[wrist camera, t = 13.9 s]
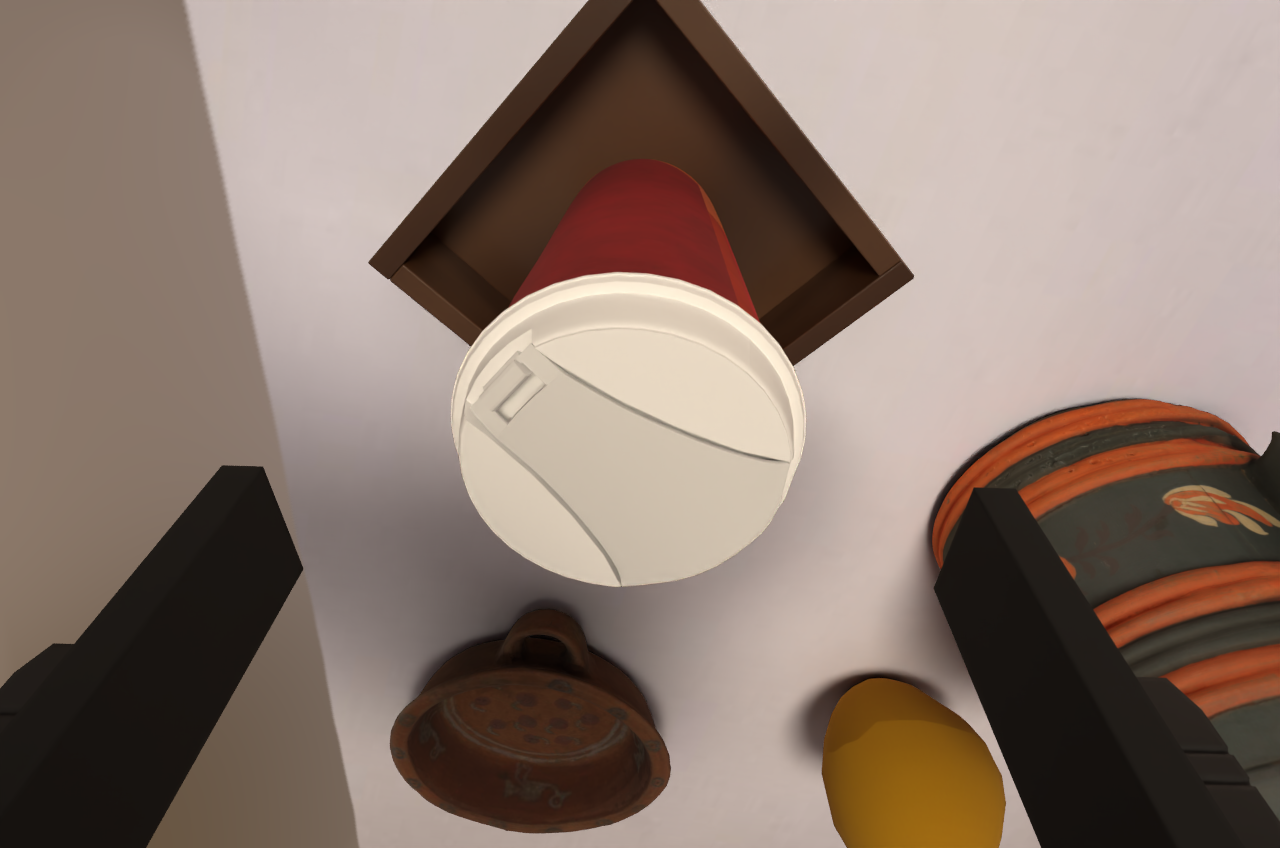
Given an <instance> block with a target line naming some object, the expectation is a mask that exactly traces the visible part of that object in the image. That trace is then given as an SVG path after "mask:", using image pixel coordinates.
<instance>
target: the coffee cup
mask: <svg viewBox="0 0 1280 848" xmlns="http://www.w3.org/2000/svg"><path fill="white" fill-rule="evenodd" d="M451 426H452V432H453V439H454V444H455V447H456V450H457V453H458V455H459V462H460V468H461V475H462V477H463V480H464V483H465V486H466V489H467V492H468V495H469V496H470V498H471V500H472V502H473V504H474V505H475V507H476V509H477V511H478V513H479V514H480V516H481V517H482V518H483V520H484V521H485V522H486V523H487V525H488V526H489V527H490V528H491V530H492V531H493V532H494V533H495V534H496V535H497V536H498V537H499V538H500V539H501V540H503V541H504V542H505V543H506V544H507V545H508V546H509V547H510V548H512V549H513V550H515V551H516V552H518V553H519V554H520V555H522V556H523V557H525V558H526V559H528V560H530V561H532V562H533V563H535V564H537V565H539V566H541V567H543V568H545V569H547V570H549V571H552V572H555V573H557V574H560V575H562V576H565V577H568V578H571V579H575V580H579V581H583V582H587V583H592V584H598V585H605V586H613V587H621V585H622V586H623V587H626V586H638V585H649V584H657V583H664V582H671V581H677V580H681V579H685V578H688V577H692V576H695V575H698V574H701V573H703V572H705V571H707V570H710V569H712V568H714V567H716V566H718V565H720V564H721V563H723V562H724V561H726V560H728V559H729V558H731V557H733V556H734V555H736V554H737V553H738V552H739V551H741V550H742V549H743V548H744V547H746V546H747V545H748V544H750V543H751V542H752V541H754V540H755V539H756V538H757V537H758V536H759V535H760V534H761V533H762V532H763V531H764V530H765V529H766V528H767V526H768V525H769V523H770V522H771V520H772V518H773V517H774V515H775V513H776V511H777V509H778V507H779V506H780V505H781V504H782V503H783V502H784V500H785V497H786V494H787V492H788V489H789V486H790V484H791V481H792V478H793V476H794V474H795V471H796V469H797V466H798V464H799V462H800V459H801V456H802V451H803V446H804V442H805V437H806V410H805V404H804V399H803V393H802V389H801V386H800V383H799V381H798V378H797V376H796V373H795V371H794V368H793V365H792V364H791V362H790V361H789V359H788V357H787V356H786V354H785V353H784V351H783V349H782V348H781V346H780V345H779V343H778V342H777V341H776V340H775V339H774V338H773V336H772V335H771V334H770V333H769V332H768V331H767V330H766V329H765V328H764V327H763V325H762V324H761V323H760V321H759V319H758V316H757V313H756V311H755V308H754V306H753V303H752V300H751V298H750V295H749V293H748V290H747V287H746V285H745V282H744V280H743V277H742V274H741V272H740V269H739V267H738V264H737V262H736V259H735V257H734V254H733V251H732V249H731V246H730V244H729V241H728V239H727V236H726V234H725V232H724V229H723V227H722V224H721V222H720V219H719V217H718V215H717V213H716V211H715V209H714V206H713V204H712V203H711V201H710V199H709V197H708V196H707V194H706V193H705V191H704V190H703V189H702V187H701V186H700V185H699V184H698V183H697V182H696V181H695V180H694V179H693V178H692V177H691V176H689V175H688V174H687V173H686V172H684V171H682V170H681V169H679V168H677V167H675V166H673V165H671V164H668V163H665V162H662V161H658V160H652V159H632V160H627V161H623V162H619V163H616V164H614V165H611V166H609V167H607V168H606V169H604V170H602V171H601V172H599V173H598V174H596V175H595V176H594V177H592V178H591V179H590V180H589V181H588V182H587V183H586V184H585V186H584V187H583V188H582V189H581V190H580V192H579V193H578V194H577V196H576V197H575V199H574V200H573V202H572V203H571V205H570V206H569V208H568V210H567V211H566V213H565V215H564V216H563V218H562V220H561V221H560V223H559V225H558V226H557V228H556V230H555V231H554V233H553V235H552V237H551V238H550V240H549V242H548V244H547V245H546V247H545V249H544V250H543V252H542V254H541V256H540V257H539V259H538V260H537V262H536V263H535V265H534V267H533V268H532V270H531V271H530V273H529V274H528V276H527V277H526V279H525V281H524V282H523V284H522V285H521V287H520V288H519V290H518V292H517V293H516V295H515V296H514V298H513V300H512V302H511V304H510V305H509V307H508V308H507V309H506V310H504V311H503V312H502V313H501V314H500V315H499V316H498V317H496V318H495V319H494V320H493V321H492V322H491V323H490V324H489V325H488V326H487V327H486V328H485V329H484V330H483V331H482V332H481V334H480V335H479V337H478V338H477V339H476V341H475V342H474V344H473V345H472V346H471V348H470V349H469V350H468V352H467V354H466V357H465V359H464V361H463V363H462V365H461V367H460V369H459V372H458V374H457V377H456V381H455V385H454V390H453V394H452V400H451Z"/></svg>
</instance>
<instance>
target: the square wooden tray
mask: <svg viewBox="0 0 1280 848" xmlns="http://www.w3.org/2000/svg"><path fill="white" fill-rule="evenodd" d="M632 159H652V160H658V161H662V162H665V163H668V164H671V165H673V166H675V167H677V168H679V169H681V170H682V171H684V172H686V173H687V174H688V175H689V176H691V177H692V178H693V179H694V180H695V181H696V182H697V183H698V184H699V185H700V186H701V187H702V189H703V190H704V191H705V193H706V194H707V196H708V197H709V199H710V201H711V203H712V204H713V206H714V209H715V211H716V213H717V215H718V217H719V219H720V222H721V224H722V227H723V229H724V232H725V234H726V236H727V239H728V241H729V244H730V246H731V249H732V251H733V254H734V257H735V259H736V262H737V264H738V267H739V269H740V272H741V274H742V277H743V280H744V282H745V285H746V287H747V290H748V293H749V295H750V298H751V300H752V303H753V306H754V308H755V311H756V313H757V316H758V319H759V321H760V323H761V324H762V325H763V327H764V328H765V329H766V330H767V331H768V332H769V333H770V334H771V335H772V336H773V338H774V339H775V340H776V341H777V342H778V343H779V345H780V346H781V348H782V349H783V351H784V353H785V354H786V356H787V357H788V359H789V361H790V362H791V364H792V365H793V366H794V365H796V364H797V363H798V362H800V361H801V360H802V359H804V358H805V357H806V356H808V355H809V354H811V353H812V352H813V351H815V350H816V349H817V348H819V347H820V346H822V345H823V344H824V343H826V342H827V341H828V340H830V339H831V338H832V337H834V336H835V335H837V334H838V333H839V332H841V331H842V330H843V329H845V328H846V327H848V326H849V325H850V324H852V323H853V322H854V321H856V320H857V319H859V318H860V317H861V316H863V315H864V314H865V313H867V312H868V311H869V310H871V309H872V308H874V307H875V306H876V305H878V304H879V303H880V302H882V301H883V300H885V299H886V298H887V297H889V296H890V295H891V294H893V293H894V292H896V291H897V290H898V289H900V288H901V287H902V286H904V285H905V284H906V283H908V282H909V281H911V280H912V279H913V278H914V275H913V274H912V272H911V271H910V270H909V268H908V267H907V266H906V264H905V263H904V262H903V260H902V259H901V258H900V256H899V255H898V254H897V252H896V251H895V250H894V248H893V247H892V246H891V244H890V243H889V242H888V240H887V239H886V238H885V237H884V235H883V234H882V233H881V231H880V230H879V229H878V228H877V226H876V225H875V224H874V222H873V221H872V220H871V219H870V217H869V216H868V215H867V213H866V212H865V211H864V210H863V208H862V207H861V206H860V204H859V203H858V202H857V201H856V199H855V198H854V197H853V196H852V194H851V193H850V192H849V190H848V189H847V188H846V187H845V185H844V184H843V183H842V181H841V180H840V179H839V178H838V176H837V175H836V174H835V172H834V171H833V170H832V169H831V167H830V166H829V165H828V163H827V162H826V161H825V160H824V158H823V157H822V156H821V155H820V153H819V152H818V151H817V149H816V148H815V147H814V146H813V144H812V143H811V142H810V140H809V139H808V138H807V137H806V135H805V134H804V133H803V131H802V130H801V129H800V128H799V126H798V125H797V124H796V122H795V121H794V120H793V119H792V117H791V116H790V115H789V114H788V112H787V111H786V110H785V108H784V107H783V106H782V105H781V103H780V102H779V101H778V99H777V98H776V97H775V96H774V94H773V93H772V92H771V90H770V89H769V88H768V87H767V85H766V84H765V83H764V81H763V80H762V79H761V78H760V76H759V75H758V74H757V72H756V71H755V70H754V69H753V67H752V66H751V65H750V64H749V62H748V61H747V60H746V58H745V57H744V56H743V55H742V53H741V52H740V51H739V49H738V48H737V47H736V46H735V44H734V43H733V42H732V40H731V39H730V38H729V37H728V35H727V34H726V33H725V31H724V30H723V29H722V28H721V26H720V25H719V24H718V23H717V21H716V20H715V19H714V17H713V16H712V15H711V14H710V12H709V11H708V10H707V8H706V7H705V6H704V5H703V3H702V2H701V1H700V0H588V1H587V3H586V4H585V5H584V6H583V7H582V9H581V10H580V11H579V12H578V13H577V15H576V16H575V17H574V18H573V19H572V20H571V22H570V23H569V24H568V25H567V26H566V28H565V29H564V30H563V31H562V32H561V34H560V35H559V36H558V37H557V38H556V40H555V41H554V42H553V43H552V44H551V45H550V47H549V48H548V49H547V50H546V51H545V53H544V54H543V55H542V56H541V57H540V59H539V60H538V61H537V62H536V63H535V64H534V66H533V67H532V68H531V69H530V70H529V72H528V73H527V74H526V75H525V76H524V78H523V79H522V80H521V81H520V82H519V84H518V85H517V86H516V87H515V88H514V89H513V91H512V92H511V93H510V94H509V95H508V97H507V98H506V99H505V100H504V101H503V103H502V104H501V105H500V106H499V107H498V108H497V110H496V111H495V112H494V113H493V114H492V116H491V117H490V118H489V119H488V120H487V122H486V123H485V124H484V125H483V126H482V128H481V129H480V130H479V131H478V132H477V133H476V135H475V136H474V137H473V138H472V139H471V141H470V142H469V143H468V144H467V145H466V147H465V148H464V149H463V150H462V151H461V153H460V154H459V155H458V156H457V157H456V158H455V160H454V161H453V162H452V163H451V164H450V166H449V167H448V168H447V169H446V170H445V172H444V173H443V174H442V175H441V176H440V177H439V179H438V180H437V181H436V182H435V183H434V185H433V186H432V187H431V188H430V189H429V191H428V192H427V193H426V194H425V195H424V197H423V198H422V199H421V200H420V201H419V202H418V204H417V205H416V206H415V207H414V208H413V210H412V211H411V212H410V213H409V214H408V216H407V217H406V218H405V219H404V220H403V221H402V223H401V224H400V225H399V226H398V227H397V229H396V230H395V231H394V232H393V233H392V235H391V236H390V237H389V238H388V239H387V241H386V242H385V243H384V244H383V245H382V246H381V248H380V249H379V250H378V251H377V252H376V254H375V255H374V256H373V257H372V258H371V260H370V261H369V262H368V263H369V264H370V265H371V266H372V267H373V268H375V269H376V270H377V271H378V272H380V273H381V274H382V275H383V276H385V277H386V278H387V279H390V281H391V282H392V283H394V284H395V285H396V286H397V287H399V288H400V289H401V290H402V291H404V292H405V293H406V294H407V295H408V296H410V297H411V298H412V299H413V300H415V301H416V302H417V303H418V304H420V305H421V306H422V307H423V308H424V309H426V310H427V311H428V312H429V313H431V314H432V315H433V316H434V317H436V318H437V319H438V320H439V321H440V322H442V323H443V324H444V325H445V326H447V327H448V328H449V329H450V330H452V331H453V332H454V333H455V334H457V335H458V336H459V337H460V338H461V339H463V340H464V341H465V342H466V343H468V344H469V345H470V346H472V345H473V344H474V342H475V341H476V339H477V338H478V337H479V335H480V334H481V332H482V331H483V330H484V329H485V328H486V327H487V326H488V325H489V324H490V323H491V322H492V321H493V320H494V319H495V318H496V317H498V316H499V315H500V314H501V313H502V312H503V311H504V310H506V309H507V308H508V307H509V305H510V304H511V302H512V300H513V298H514V296H515V295H516V293H517V292H518V290H519V288H520V287H521V285H522V284H523V282H524V281H525V279H526V277H527V276H528V274H529V273H530V271H531V270H532V268H533V267H534V265H535V263H536V262H537V260H538V259H539V257H540V256H541V254H542V252H543V250H544V249H545V247H546V245H547V244H548V242H549V240H550V238H551V237H552V235H553V233H554V231H555V230H556V228H557V226H558V225H559V223H560V221H561V220H562V218H563V216H564V215H565V213H566V211H567V210H568V208H569V206H570V205H571V203H572V202H573V200H574V199H575V197H576V196H577V194H578V193H579V192H580V190H581V189H582V188H583V187H584V186H585V184H586V183H587V182H588V181H589V180H590V179H591V178H592V177H594V176H595V175H596V174H598V173H599V172H601V171H602V170H604V169H606V168H607V167H609V166H611V165H614V164H616V163H619V162H623V161H627V160H632Z"/></svg>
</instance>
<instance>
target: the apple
mask: <svg viewBox="0 0 1280 848" xmlns="http://www.w3.org/2000/svg"><path fill="white" fill-rule="evenodd" d="M822 777H823V781H824V785H825V790H826V794H827V798H828V802H829V807H830V811H831V815H832V819H833V824H834V826H835V828H836V830H837V832H838V833H839V835H840V837H841V838H842V840H843V842H844V843H845V845H846V847H847V848H999V845H1000V841H1001V837H1002V830H1003V822H1004V814H1005V806H1006V801H1005V794H1004V787H1003V781H1002V775H1001V773H1000V771H999V769H998V767H997V765H996V764H995V762H994V760H993V758H992V756H991V753H990V751H989V749H988V747H987V745H986V743H985V742H984V741H983V740H982V739H981V737H980V736H979V735H978V734H977V733H976V732H975V731H974V730H973V728H972V727H971V726H970V725H969V724H968V723H967V722H966V721H965V720H964V719H962V718H961V717H960V716H959V715H957V714H956V713H954V712H953V711H951V710H950V709H948V708H947V707H945V706H944V705H942V704H941V703H939V702H938V701H936V700H934V699H933V698H931V697H930V696H928V695H927V694H925V693H924V692H922V691H921V690H919V689H917V688H915V687H914V686H912V685H910V684H907V683H903V682H900V681H896V680H892V679H887V678H874V679H867V680H865V681H863V682H861V683H859V684H857V685H855V686H853V687H852V688H851V689H850V690H849V691H847V692H846V693H845V694H844V695H843V696H842V697H841V698H840V700H839V701H838V703H837V705H836V707H835V709H834V710H833V712H832V714H831V718H830V721H829V724H828V728H827V731H826V734H825V738H824V747H823V762H822Z"/></svg>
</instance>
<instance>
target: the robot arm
mask: <svg viewBox="0 0 1280 848" xmlns="http://www.w3.org/2000/svg"><path fill="white" fill-rule="evenodd" d="M302 571H303V566H302V564H301V561H300V559H299V556H298V554H297V551H296V549H295V546H294V544H293V541H292V539H291V536H290V533H289V531H288V528H287V526H286V523H285V521H284V518H283V516H282V513H281V511H280V508H279V506H278V503H277V501H276V498H275V496H274V493H273V491H272V488H271V486H270V483H269V481H268V478H267V476H266V473H265V470H264V468H263V467H256V466H221V467H220V469H219V470H218V471H217V472H216V473H215V475H214V476H213V477H212V478H211V480H210V481H209V482H208V483H207V484H206V486H205V487H204V488H203V489H202V490H201V492H200V493H199V494H198V495H197V496H196V498H195V499H194V500H193V501H192V502H191V504H190V505H189V506H188V507H187V509H186V510H185V511H184V512H183V513H182V515H181V516H180V517H179V518H178V520H177V521H176V522H175V523H174V524H173V525H172V527H171V528H170V529H169V530H168V532H167V533H166V534H165V535H164V536H163V537H162V539H161V540H160V541H159V542H158V543H157V545H156V546H155V547H154V548H153V550H152V551H151V552H150V553H149V554H148V556H147V557H146V558H145V559H144V560H143V562H142V563H141V564H140V565H139V566H138V568H137V569H136V570H135V571H134V573H133V574H132V575H131V576H130V577H129V579H128V580H127V581H126V582H125V583H124V585H123V586H122V587H121V588H120V589H119V591H118V592H117V593H116V594H115V596H114V597H113V598H112V599H111V600H110V601H109V603H108V604H107V605H106V606H105V608H104V609H103V610H102V611H101V612H100V614H99V615H98V616H97V617H96V618H95V620H94V621H93V622H92V623H91V624H90V626H89V627H88V628H87V629H86V630H85V632H84V633H83V634H82V635H81V636H80V638H79V639H78V640H77V641H76V643H75V644H52V645H51V646H50V647H48V648H47V649H45V650H44V651H43V652H41V653H40V654H39V655H37V656H36V657H35V658H33V659H32V660H31V661H29V662H28V663H27V664H25V665H24V666H23V667H21V668H20V669H19V670H17V671H16V672H14V674H13V675H12V676H11V677H10V678H9V679H8V680H7V681H6V683H5V684H4V685H3V686H2V687H1V688H0V848H146V847H147V845H148V843H149V841H150V840H151V838H152V836H153V834H154V833H155V831H156V829H157V827H158V825H159V824H160V822H161V820H162V818H163V817H164V815H165V813H166V811H167V810H168V808H169V806H170V804H171V802H172V801H173V799H174V797H175V795H176V794H177V792H178V790H179V788H180V787H181V785H182V783H183V781H184V779H185V778H186V776H187V774H188V772H189V770H190V769H191V767H192V765H193V764H194V762H195V760H196V758H197V756H198V755H199V753H200V751H201V749H202V747H203V746H204V744H205V742H206V741H207V739H208V737H209V735H210V733H211V732H212V730H213V728H214V726H215V725H216V723H217V721H218V719H219V717H220V716H221V714H222V712H223V710H224V709H225V707H226V705H227V703H228V702H229V700H230V698H231V696H232V694H233V693H234V691H235V689H236V687H237V686H238V684H239V682H240V680H241V679H242V677H243V675H244V673H245V671H246V670H247V668H248V666H249V664H250V663H251V661H252V659H253V657H254V655H255V654H256V652H257V650H258V648H259V646H260V645H261V643H262V641H263V640H264V638H265V636H266V634H267V632H268V631H269V629H270V627H271V625H272V624H273V622H274V620H275V618H276V617H277V615H278V613H279V611H280V610H281V608H282V606H283V604H284V602H285V601H286V599H287V597H288V595H289V594H290V592H291V590H292V588H293V586H294V585H295V583H296V581H297V579H298V578H299V576H300V574H301V572H302ZM934 591H935V593H936V595H937V598H938V600H939V603H940V605H941V607H942V610H943V612H944V615H945V617H946V619H947V622H948V624H949V627H950V629H951V631H952V634H953V636H954V639H955V641H956V644H957V646H958V648H959V651H960V653H961V656H962V658H963V660H964V663H965V665H966V668H967V670H968V672H969V675H970V677H971V680H972V682H973V684H974V687H975V689H976V692H977V694H978V696H979V699H980V701H981V704H982V706H983V709H984V711H985V713H986V716H987V718H988V721H989V723H990V725H991V728H992V730H993V733H994V735H995V737H996V740H997V742H998V745H999V747H1000V749H1001V752H1002V754H1003V757H1004V759H1005V761H1006V764H1007V766H1008V769H1009V771H1010V774H1011V776H1012V778H1013V781H1014V783H1015V786H1016V788H1017V790H1018V793H1019V795H1020V798H1021V800H1022V802H1023V805H1024V807H1025V810H1026V812H1027V814H1028V817H1029V819H1030V822H1031V824H1032V826H1033V829H1034V831H1035V834H1036V836H1037V839H1038V841H1039V843H1040V846H1041V848H1280V821H1279V819H1278V818H1277V817H1276V815H1275V814H1274V812H1273V811H1272V809H1271V808H1270V806H1269V805H1268V804H1267V802H1266V801H1265V799H1264V798H1263V796H1262V795H1261V794H1260V792H1259V791H1258V789H1257V788H1256V786H1252V785H1251V784H1250V782H1249V779H1250V778H1249V776H1248V775H1247V773H1246V772H1245V771H1244V769H1243V768H1242V766H1241V765H1240V763H1239V762H1238V761H1237V759H1236V758H1235V756H1234V755H1230V754H1229V752H1228V746H1227V745H1226V743H1225V742H1224V740H1223V739H1222V738H1221V736H1220V735H1219V733H1218V732H1217V730H1216V729H1215V728H1214V726H1213V725H1212V723H1211V722H1210V720H1209V719H1208V717H1207V716H1206V715H1205V713H1204V712H1203V710H1202V709H1201V708H1199V707H1198V706H1197V705H1196V704H1195V703H1194V702H1193V701H1192V700H1190V699H1189V698H1188V697H1187V696H1186V695H1185V694H1184V693H1183V692H1182V691H1180V690H1179V689H1178V688H1177V687H1176V686H1175V685H1174V684H1173V683H1171V682H1170V681H1169V680H1168V679H1167V678H1158V677H1136V676H1135V675H1134V673H1133V671H1132V670H1131V668H1130V667H1129V665H1128V664H1127V662H1126V660H1125V659H1124V657H1123V656H1122V654H1121V653H1120V651H1119V649H1118V648H1117V646H1116V645H1115V643H1114V642H1113V640H1112V638H1111V637H1110V635H1109V634H1108V632H1107V631H1106V629H1105V628H1104V626H1103V624H1102V623H1101V621H1100V620H1099V618H1098V617H1097V615H1096V613H1095V612H1094V610H1093V609H1092V607H1091V606H1090V604H1089V602H1088V601H1087V599H1086V598H1085V596H1084V595H1083V593H1082V592H1081V590H1080V588H1079V587H1078V585H1077V584H1076V582H1075V581H1074V579H1073V577H1072V576H1071V574H1070V573H1069V571H1068V570H1067V568H1066V566H1065V565H1064V563H1063V562H1062V560H1061V559H1060V557H1059V555H1058V554H1057V552H1056V551H1055V549H1054V548H1053V546H1052V545H1051V543H1050V541H1049V540H1048V538H1047V537H1046V535H1045V534H1044V532H1043V530H1042V529H1041V527H1040V526H1039V524H1038V523H1037V521H1036V519H1035V518H1034V516H1033V515H1032V513H1031V512H1030V510H1029V508H1028V507H1027V505H1026V504H1025V502H1024V501H1023V499H1022V498H1021V496H1020V494H1019V493H1018V491H1017V490H1016V489H1014V488H979V487H974V488H973V490H972V493H971V495H970V498H969V500H968V503H967V506H966V508H965V511H964V513H963V516H962V518H961V521H960V523H959V526H958V528H957V531H956V533H955V536H954V538H953V541H952V543H951V546H950V548H949V551H948V553H947V556H946V558H945V561H944V563H943V566H942V568H941V571H940V573H939V576H938V578H937V581H936V583H935V586H934Z"/></svg>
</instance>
